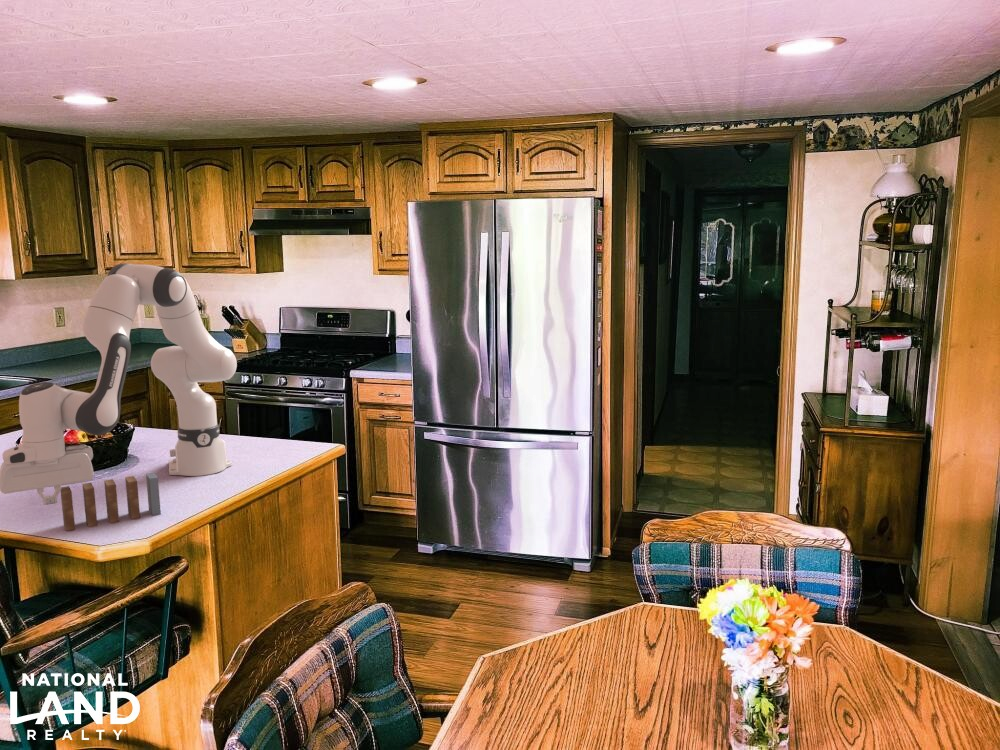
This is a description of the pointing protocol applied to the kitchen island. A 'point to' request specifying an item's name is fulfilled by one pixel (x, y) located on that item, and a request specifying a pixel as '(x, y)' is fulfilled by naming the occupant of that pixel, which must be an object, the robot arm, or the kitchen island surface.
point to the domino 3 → (111, 501)
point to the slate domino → (153, 494)
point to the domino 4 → (132, 497)
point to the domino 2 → (89, 504)
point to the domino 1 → (67, 508)
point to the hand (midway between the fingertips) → (50, 503)
